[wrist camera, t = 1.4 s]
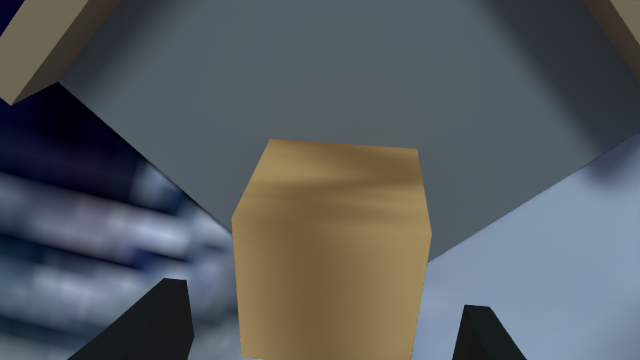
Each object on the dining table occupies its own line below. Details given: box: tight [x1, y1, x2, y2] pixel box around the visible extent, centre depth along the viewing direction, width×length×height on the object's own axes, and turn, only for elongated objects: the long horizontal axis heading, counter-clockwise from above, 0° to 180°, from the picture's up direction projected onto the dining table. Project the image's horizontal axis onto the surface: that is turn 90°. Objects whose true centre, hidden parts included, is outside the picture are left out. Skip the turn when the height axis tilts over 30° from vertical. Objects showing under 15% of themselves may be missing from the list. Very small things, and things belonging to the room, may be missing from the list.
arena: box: [0, 0, 640, 263], centre depth 14 cm, size 15×15×3 cm
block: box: [231, 139, 432, 360], centre depth 15 cm, size 5×5×5 cm
